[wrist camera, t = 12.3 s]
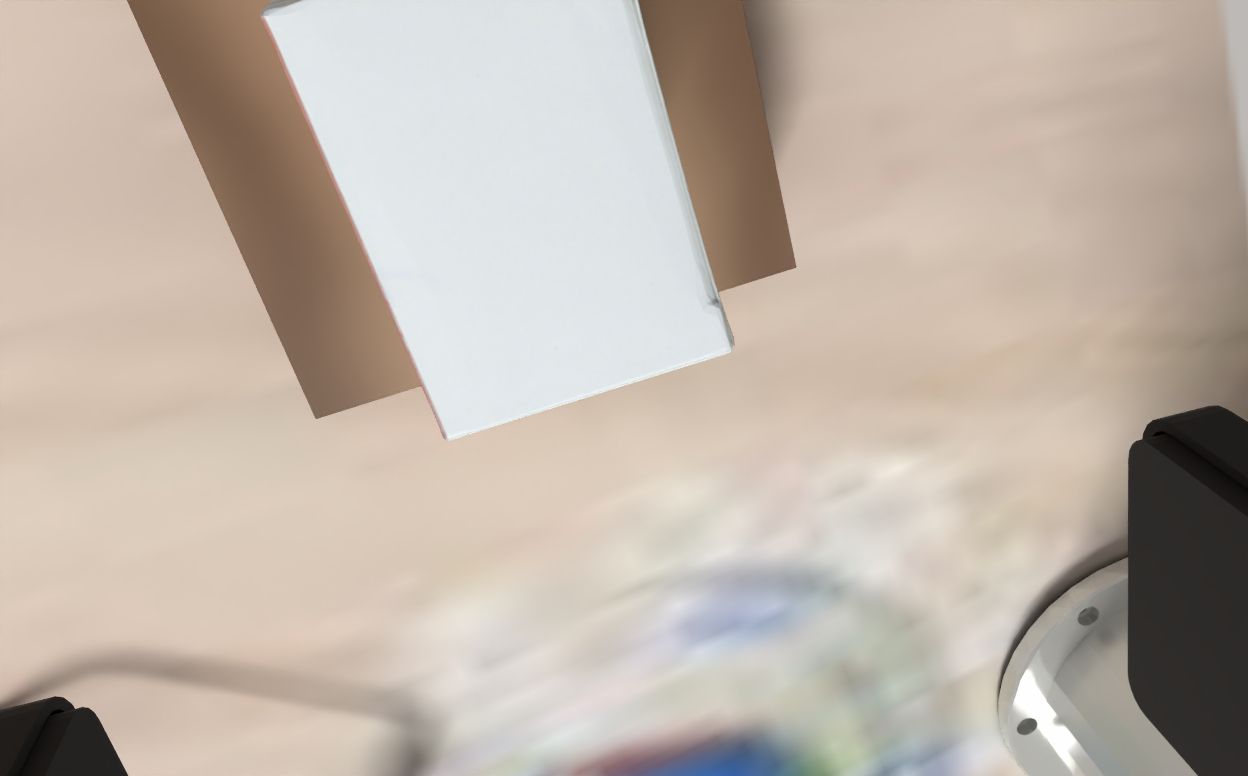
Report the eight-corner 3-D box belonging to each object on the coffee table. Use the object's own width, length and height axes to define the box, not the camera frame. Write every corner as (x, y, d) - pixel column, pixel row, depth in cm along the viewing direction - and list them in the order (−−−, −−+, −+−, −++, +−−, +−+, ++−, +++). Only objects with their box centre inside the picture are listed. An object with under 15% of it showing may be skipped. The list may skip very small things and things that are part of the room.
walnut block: (639, -272, 29) (679, -303, 24) (748, 219, 35) (796, 267, 30) (128, -121, 28) (70, -124, 24) (330, 350, 34) (315, 419, 30)
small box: (328, -51, 25) (243, -4, 15) (558, -126, 25) (613, -124, 15) (449, 262, 28) (439, 455, 19) (650, 197, 28) (741, 358, 19)
